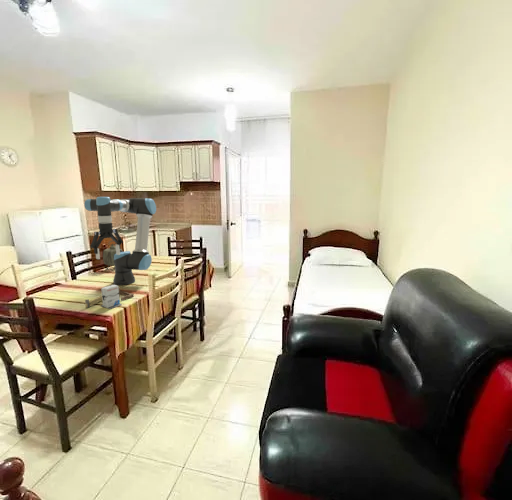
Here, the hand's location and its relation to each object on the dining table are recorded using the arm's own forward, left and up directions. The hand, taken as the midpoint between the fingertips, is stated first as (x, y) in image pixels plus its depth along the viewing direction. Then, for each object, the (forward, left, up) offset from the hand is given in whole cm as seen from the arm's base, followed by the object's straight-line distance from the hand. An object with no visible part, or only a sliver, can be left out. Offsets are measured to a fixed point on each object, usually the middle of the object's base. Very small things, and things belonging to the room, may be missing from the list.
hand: (108, 256), depth 188 cm
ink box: (+5, +7, -29) cm, 30 cm away
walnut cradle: (-5, -1, -29) cm, 29 cm away
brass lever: (+7, -4, -28) cm, 29 cm away
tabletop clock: (-48, -66, -29) cm, 87 cm away
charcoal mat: (+5, +7, -29) cm, 30 cm away
